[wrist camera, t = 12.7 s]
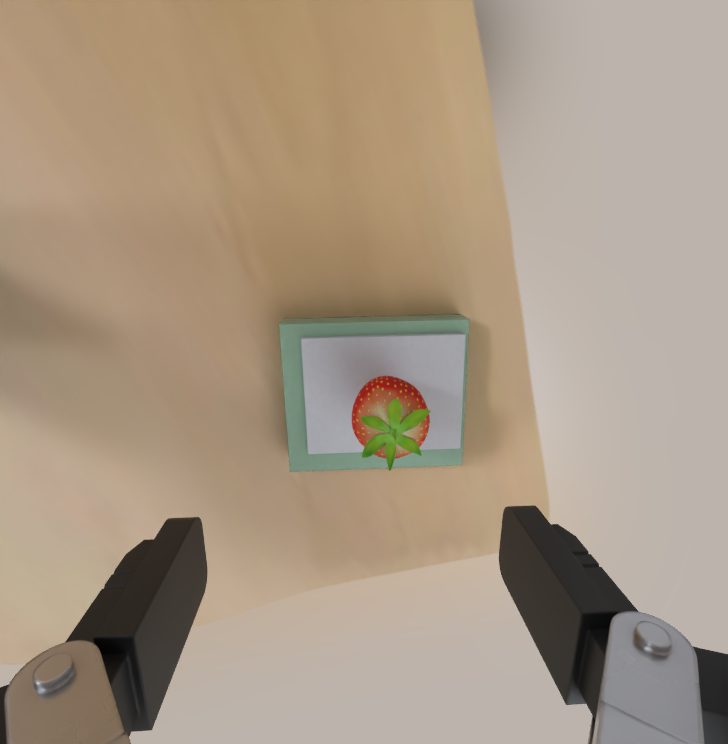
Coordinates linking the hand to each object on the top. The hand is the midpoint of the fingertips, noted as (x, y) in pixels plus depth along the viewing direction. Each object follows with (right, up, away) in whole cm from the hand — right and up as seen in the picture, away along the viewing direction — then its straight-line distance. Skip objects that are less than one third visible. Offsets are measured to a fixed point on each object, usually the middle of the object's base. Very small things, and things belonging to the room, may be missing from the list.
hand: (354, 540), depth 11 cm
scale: (+1, +3, +24) cm, 24 cm away
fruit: (+2, +3, +21) cm, 21 cm away
